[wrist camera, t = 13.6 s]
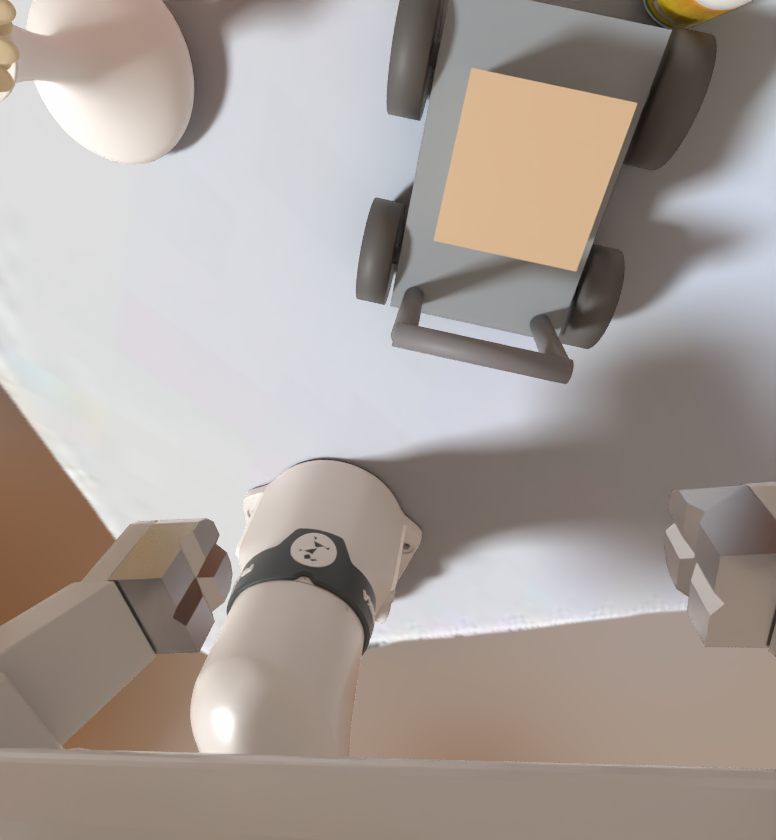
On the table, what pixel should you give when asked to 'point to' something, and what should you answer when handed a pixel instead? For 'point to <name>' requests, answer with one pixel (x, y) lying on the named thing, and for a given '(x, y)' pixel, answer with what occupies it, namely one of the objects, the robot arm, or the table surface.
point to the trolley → (521, 170)
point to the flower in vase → (104, 72)
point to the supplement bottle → (688, 11)
